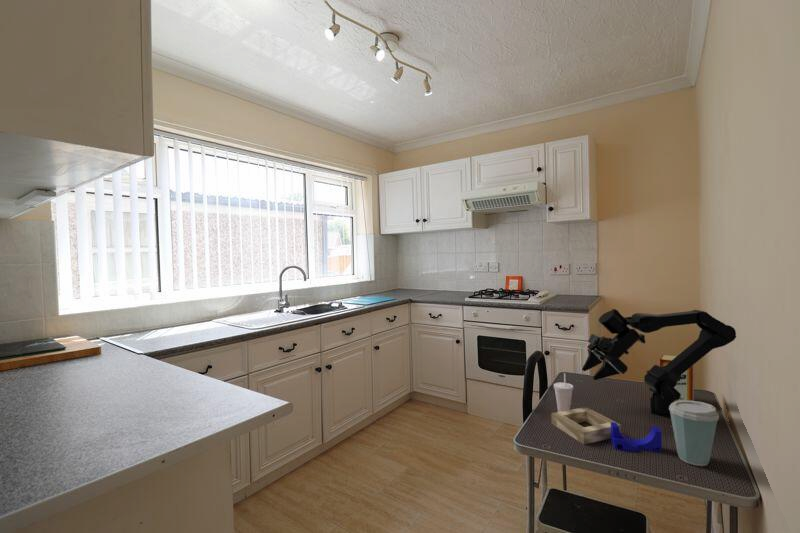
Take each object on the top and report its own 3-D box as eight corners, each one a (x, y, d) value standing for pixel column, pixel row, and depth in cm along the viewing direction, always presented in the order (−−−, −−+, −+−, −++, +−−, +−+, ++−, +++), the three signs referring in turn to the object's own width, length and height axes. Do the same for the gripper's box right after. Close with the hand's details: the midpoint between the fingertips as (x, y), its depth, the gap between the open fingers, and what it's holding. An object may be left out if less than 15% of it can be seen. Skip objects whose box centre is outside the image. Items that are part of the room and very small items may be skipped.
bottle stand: (586, 417, 128) (586, 406, 128) (621, 436, 114) (621, 424, 114) (551, 423, 124) (551, 413, 124) (583, 444, 110) (583, 432, 110)
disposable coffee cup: (670, 464, 99) (670, 408, 99) (667, 445, 108) (667, 394, 108) (722, 475, 94) (723, 416, 93) (714, 454, 103) (714, 401, 102)
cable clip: (614, 449, 107) (614, 429, 107) (610, 441, 112) (610, 422, 111) (663, 455, 104) (663, 434, 103) (657, 447, 108) (657, 426, 108)
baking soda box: (693, 401, 138) (693, 358, 137) (692, 407, 133) (692, 362, 132) (662, 395, 144) (662, 354, 144) (660, 400, 139) (660, 358, 139)
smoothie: (568, 418, 127) (568, 377, 127) (550, 412, 132) (550, 373, 132) (577, 412, 132) (576, 373, 131) (559, 407, 136) (558, 369, 136)
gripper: (592, 321, 139) (562, 351, 140) (617, 332, 120) (581, 366, 122) (615, 342, 138) (584, 372, 140) (643, 356, 120) (607, 390, 121)
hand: (588, 374), depth 131 cm, fingers open, 9 cm apart
